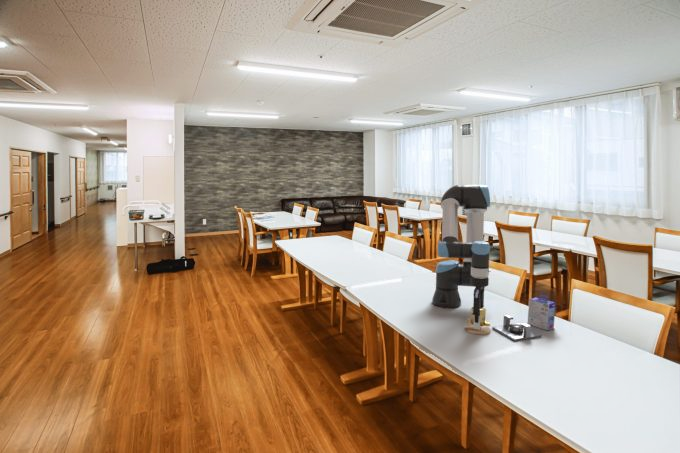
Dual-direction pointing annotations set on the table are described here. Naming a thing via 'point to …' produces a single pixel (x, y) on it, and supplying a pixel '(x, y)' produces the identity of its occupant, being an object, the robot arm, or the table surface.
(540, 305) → the ink cartridge box
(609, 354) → the table surface
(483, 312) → the bell
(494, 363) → the table surface
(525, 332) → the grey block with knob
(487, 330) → the coaster
